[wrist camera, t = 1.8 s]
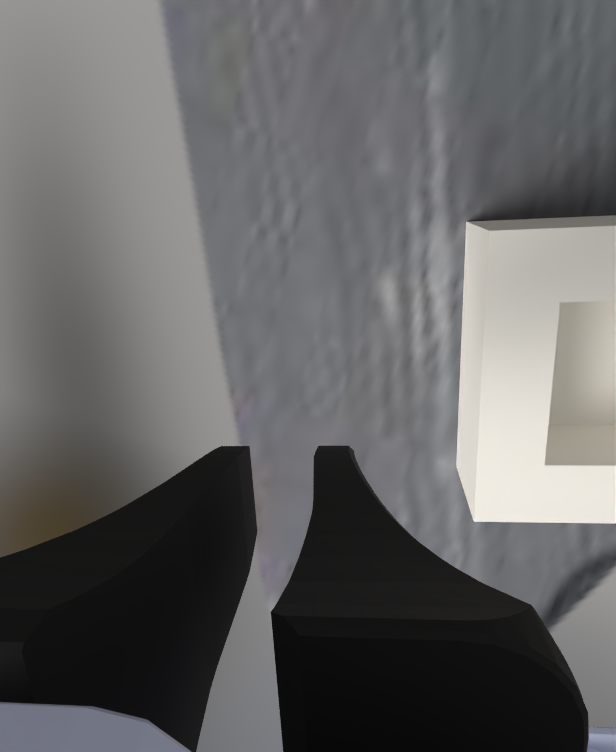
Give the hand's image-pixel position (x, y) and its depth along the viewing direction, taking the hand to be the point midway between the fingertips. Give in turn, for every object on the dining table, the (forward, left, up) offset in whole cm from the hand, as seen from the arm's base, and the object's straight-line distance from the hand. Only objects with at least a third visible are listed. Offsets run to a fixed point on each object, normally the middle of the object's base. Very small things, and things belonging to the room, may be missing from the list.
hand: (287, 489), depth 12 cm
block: (0, -10, -10) cm, 14 cm away
